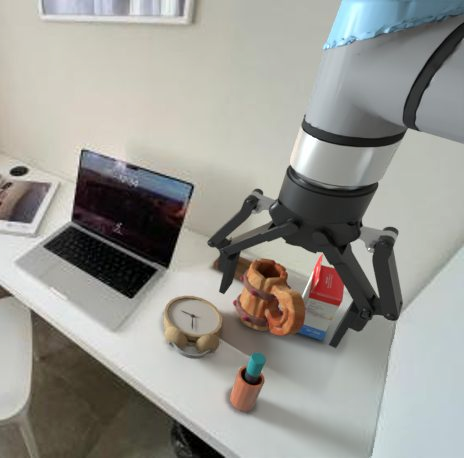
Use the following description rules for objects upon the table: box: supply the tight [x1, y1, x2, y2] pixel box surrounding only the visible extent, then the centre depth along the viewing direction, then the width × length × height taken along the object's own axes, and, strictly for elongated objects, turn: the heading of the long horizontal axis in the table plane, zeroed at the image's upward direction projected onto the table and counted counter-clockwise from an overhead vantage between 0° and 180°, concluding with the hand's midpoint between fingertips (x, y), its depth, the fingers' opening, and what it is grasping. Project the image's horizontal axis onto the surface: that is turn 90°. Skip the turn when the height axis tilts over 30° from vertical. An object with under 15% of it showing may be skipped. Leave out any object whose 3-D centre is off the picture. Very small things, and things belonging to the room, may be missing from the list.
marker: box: [243, 351, 267, 386], centre depth 58 cm, size 2×2×13 cm
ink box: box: [297, 253, 345, 341], centre depth 69 cm, size 8×5×15 cm, turn 147°
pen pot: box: [229, 365, 266, 413], centre depth 60 cm, size 4×4×8 cm
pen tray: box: [212, 255, 253, 283], centre depth 84 cm, size 14×6×2 cm, turn 44°
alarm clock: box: [163, 295, 223, 360], centre depth 73 cm, size 11×5×15 cm
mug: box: [232, 257, 305, 337], centre depth 68 cm, size 15×8×15 cm, turn 6°
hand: (275, 311), depth 48 cm, fingers open, 13 cm apart
